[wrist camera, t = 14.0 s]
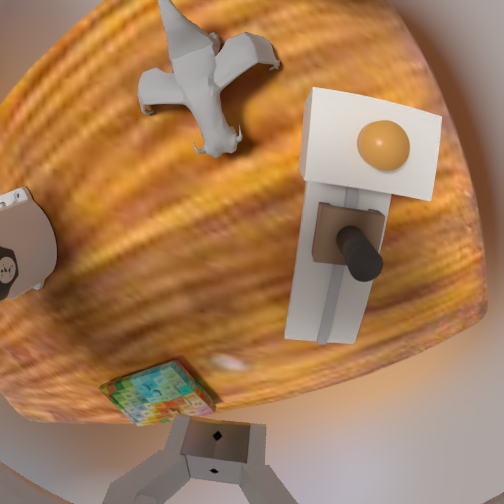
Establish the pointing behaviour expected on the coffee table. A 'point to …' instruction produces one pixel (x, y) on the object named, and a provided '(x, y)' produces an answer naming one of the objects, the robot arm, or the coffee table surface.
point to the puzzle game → (159, 394)
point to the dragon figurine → (202, 75)
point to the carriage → (349, 239)
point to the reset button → (383, 145)
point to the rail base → (349, 202)
